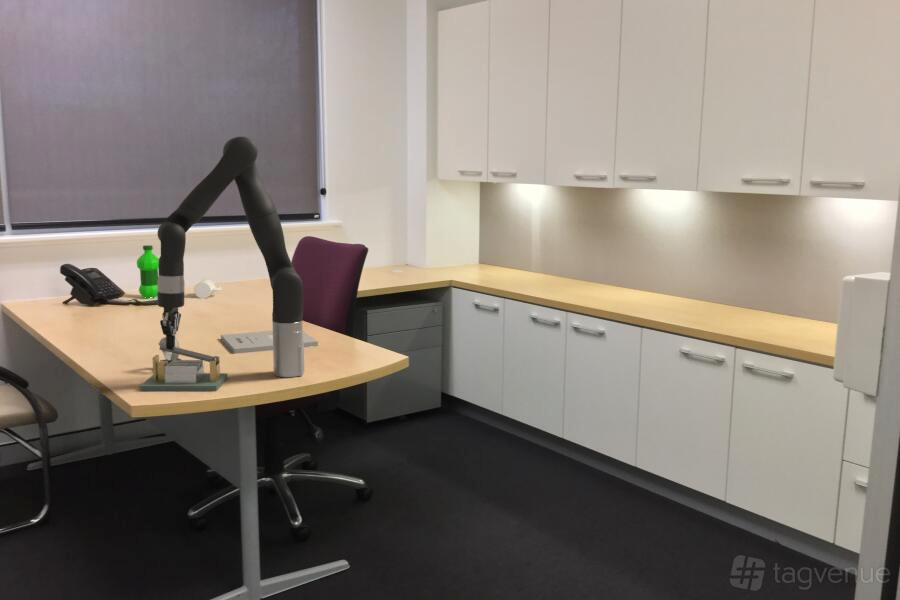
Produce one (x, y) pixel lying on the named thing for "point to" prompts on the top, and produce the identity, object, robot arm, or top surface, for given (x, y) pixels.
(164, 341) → the watch
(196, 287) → the mug
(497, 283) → the top surface
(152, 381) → the board
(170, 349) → the strap
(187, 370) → the heat sink
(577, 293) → the top surface
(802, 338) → the top surface
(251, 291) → the top surface
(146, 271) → the plastic bottle
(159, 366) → the clip posts
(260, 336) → the award plaque
